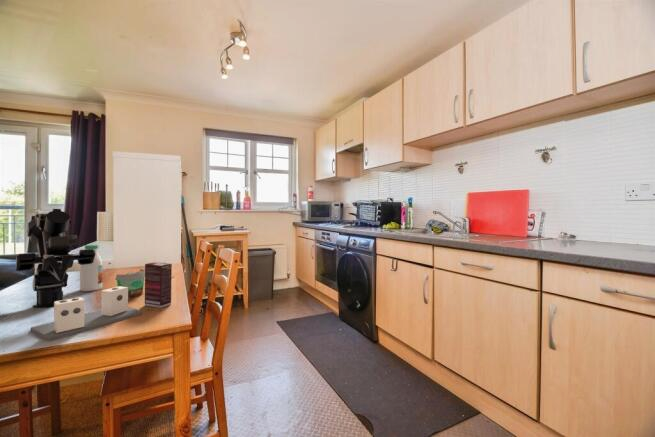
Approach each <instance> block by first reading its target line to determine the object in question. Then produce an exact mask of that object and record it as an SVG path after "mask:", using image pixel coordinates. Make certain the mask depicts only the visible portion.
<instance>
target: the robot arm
mask: <svg viewBox="0 0 655 437" xmlns="http://www.w3.org/2000/svg"><path fill="white" fill-rule="evenodd" d="M70 218H71V216H70V214H68V213H67V212H66V211H62V210H61V208H52V210H51V211H49V212H47V213H35V215H34V218H33V219H32V220H30V221H29V222H28V223H27V229H26V230H27V231H26V232H27V233H26V234H27V238H28V237H29V240H30V243H33V244H34V245H36V249H37V254H38V256H37V257H36V252H28V253H27V252H26V253H19V254H17V255H16V258H15V271H17V272H23V271H31V270H32V269H34V268H35V265H37V267H36V273H35V274H33V280H32V290H33V292H36V304H34V305H32V308H52V307H53V308H54V302H55V301H61V300H64V291H63V288H67V287H68V280H69V274H68V273H67V271H68V270H69V268H72V267H73V265H74V262H75V261H77V264H78V265H86V264H92V263H93V261H94V258H95V251H94V250H93V249H85V248H84V249H79V251H78V253H71V246H77V244H78V236H77V234H69V235H66V232H67V231H68V227H69V225H70V224H72V220H71V219H70Z"/></svg>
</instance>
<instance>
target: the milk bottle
mask: <svg viewBox="0 0 655 437" xmlns="http://www.w3.org/2000/svg"><path fill="white" fill-rule="evenodd" d="M85 249H93V250H94V251H95V258H94V261H93V263H92V264H86V265H80V264H79V265H80V268H79V290H80V291H81V292H93V291H99V290H101V289H102V288H103V268H104V267H103V261H102V257H101V256H100V254H99V251H98V250H99V245H98V244H86V245H84V250H85Z"/></svg>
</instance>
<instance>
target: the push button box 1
mask: <svg viewBox="0 0 655 437" xmlns="http://www.w3.org/2000/svg"><path fill="white" fill-rule="evenodd" d="M100 297H101V299H100V300H101V302H100V303H101V306H100V310H101V315H106V316H112V315H115V314H118V313H121V312H124V311H127V310H128V307H129V298H128V287H122V286H116V287H115V286H114V287H111V288H110V287H109V288H107V289H103V290H101V296H100Z"/></svg>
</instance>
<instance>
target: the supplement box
mask: <svg viewBox="0 0 655 437" xmlns="http://www.w3.org/2000/svg"><path fill="white" fill-rule="evenodd" d="M172 266H173V265H172V263H165V262H156V261H155V262H150V263H145V264H144V270H145V277H144V306H147V307H152V308H153V307H154V308H158V309H160V308H161V309H162V308H166V307H168V306H171V305H172Z"/></svg>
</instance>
